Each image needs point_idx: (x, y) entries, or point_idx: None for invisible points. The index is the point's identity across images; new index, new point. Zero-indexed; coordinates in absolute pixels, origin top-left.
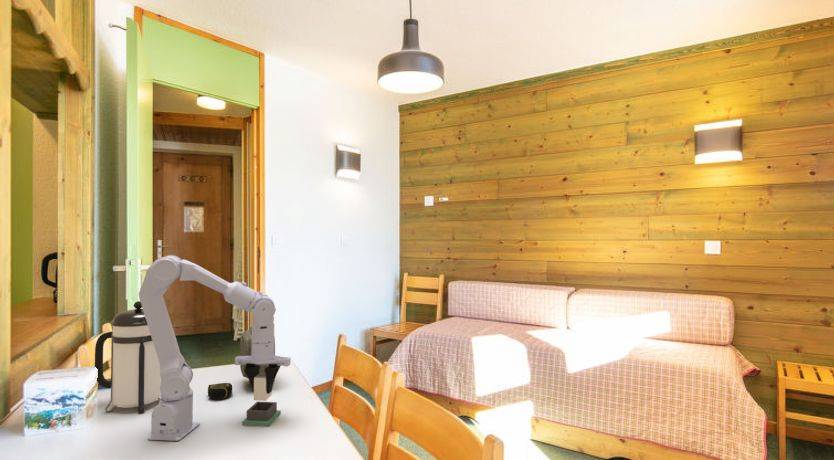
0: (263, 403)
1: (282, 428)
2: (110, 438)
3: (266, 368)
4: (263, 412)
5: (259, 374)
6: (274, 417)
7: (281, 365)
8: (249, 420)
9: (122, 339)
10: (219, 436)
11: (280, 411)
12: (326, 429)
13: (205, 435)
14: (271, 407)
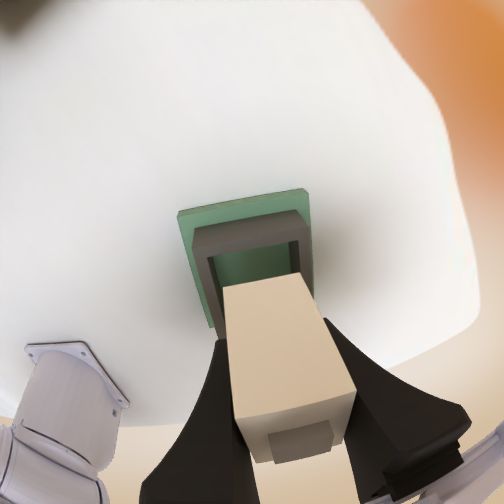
0: (236, 248)
1: (356, 294)
2: (22, 395)
3: (369, 501)
4: None
5: (280, 458)
6: (312, 262)
7: (468, 452)
8: None
9: None
10: (196, 376)
11: (307, 194)
12: (459, 259)
13: (156, 379)
14: (311, 288)
